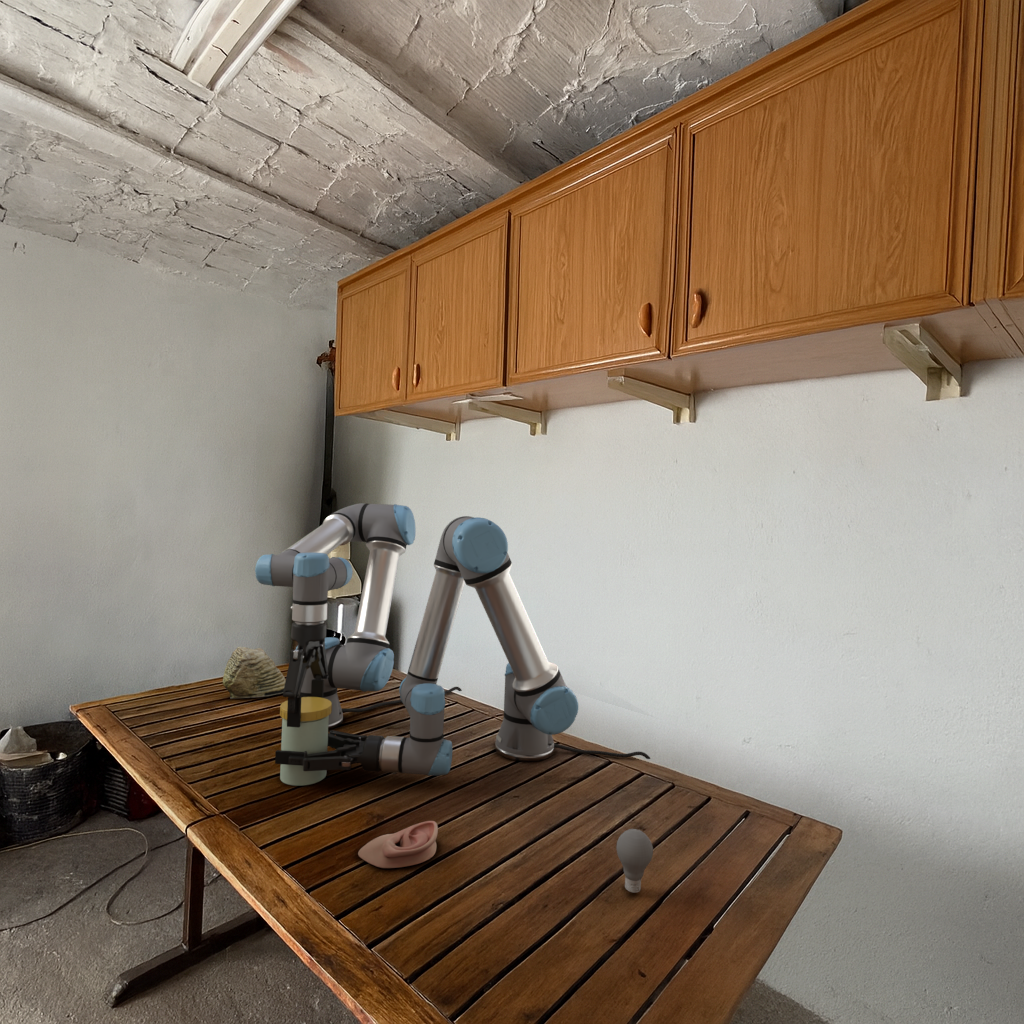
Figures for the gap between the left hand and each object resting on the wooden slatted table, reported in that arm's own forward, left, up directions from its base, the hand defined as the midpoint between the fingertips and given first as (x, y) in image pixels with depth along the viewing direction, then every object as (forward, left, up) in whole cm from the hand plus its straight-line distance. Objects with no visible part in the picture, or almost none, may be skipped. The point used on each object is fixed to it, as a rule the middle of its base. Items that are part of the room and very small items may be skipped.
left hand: (305, 716), depth 143 cm
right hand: (+2, -4, -7) cm, 8 cm away
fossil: (-22, -60, -14) cm, 66 cm away
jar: (0, 0, -14) cm, 14 cm away
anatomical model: (+6, +39, -14) cm, 42 cm away
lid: (0, 0, +2) cm, 2 cm away
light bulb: (-13, +76, -14) cm, 78 cm away
